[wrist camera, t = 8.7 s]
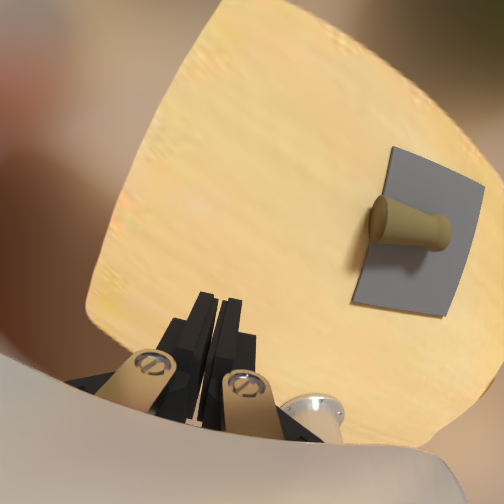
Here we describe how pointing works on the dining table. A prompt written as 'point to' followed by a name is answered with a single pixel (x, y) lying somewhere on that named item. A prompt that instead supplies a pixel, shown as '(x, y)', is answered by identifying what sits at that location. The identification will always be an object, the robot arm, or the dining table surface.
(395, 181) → the mat
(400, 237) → the cork
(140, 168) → the dining table surface
